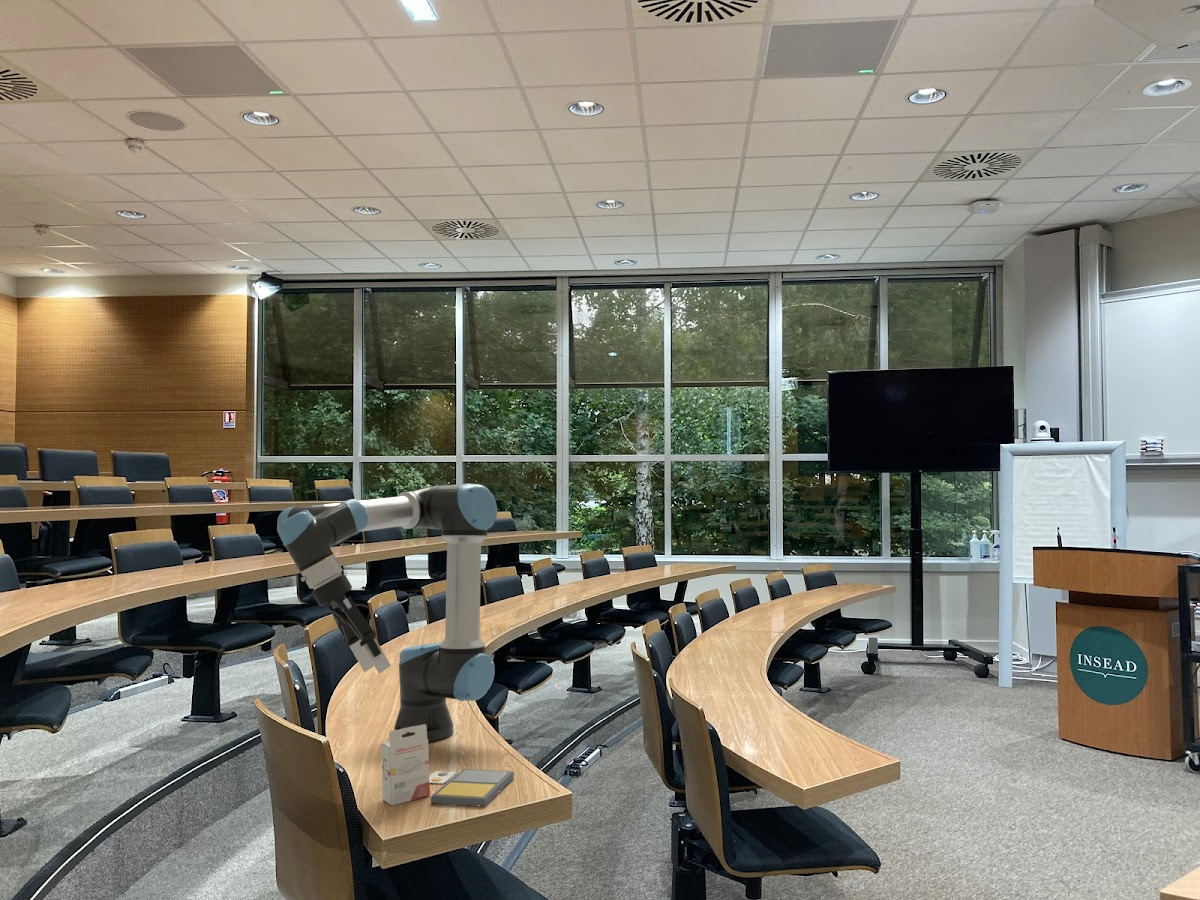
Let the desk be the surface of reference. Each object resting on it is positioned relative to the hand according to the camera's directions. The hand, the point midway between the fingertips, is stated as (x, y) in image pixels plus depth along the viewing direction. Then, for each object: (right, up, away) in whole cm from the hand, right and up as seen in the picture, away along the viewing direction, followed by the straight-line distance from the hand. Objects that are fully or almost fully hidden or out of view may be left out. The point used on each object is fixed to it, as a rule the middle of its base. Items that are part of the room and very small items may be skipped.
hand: (377, 669), depth 175 cm
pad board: (+21, -25, -1) cm, 32 cm away
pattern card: (+12, -26, +7) cm, 29 cm away
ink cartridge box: (+7, -26, -4) cm, 27 cm away
